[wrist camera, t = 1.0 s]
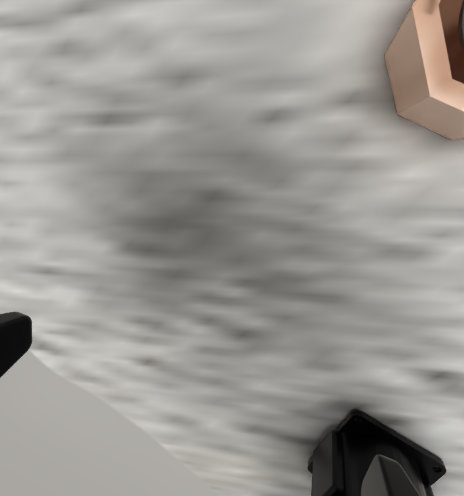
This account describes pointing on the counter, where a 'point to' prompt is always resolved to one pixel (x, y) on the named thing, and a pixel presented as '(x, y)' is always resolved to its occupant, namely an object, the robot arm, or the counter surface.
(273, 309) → the counter surface
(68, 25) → the counter surface
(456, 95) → the octagonal copper jug
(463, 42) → the plunger
